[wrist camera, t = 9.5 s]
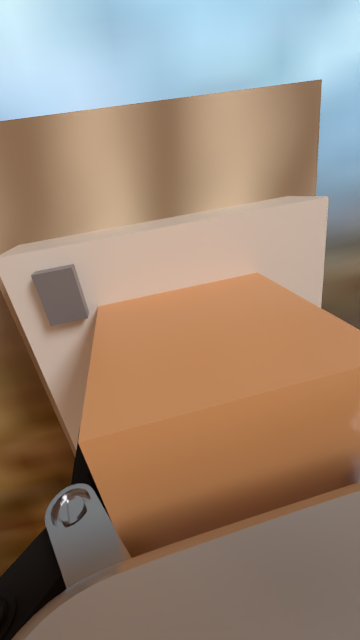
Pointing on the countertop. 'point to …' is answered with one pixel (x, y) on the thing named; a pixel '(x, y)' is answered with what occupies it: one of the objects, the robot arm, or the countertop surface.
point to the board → (153, 165)
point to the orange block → (217, 407)
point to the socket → (152, 275)
